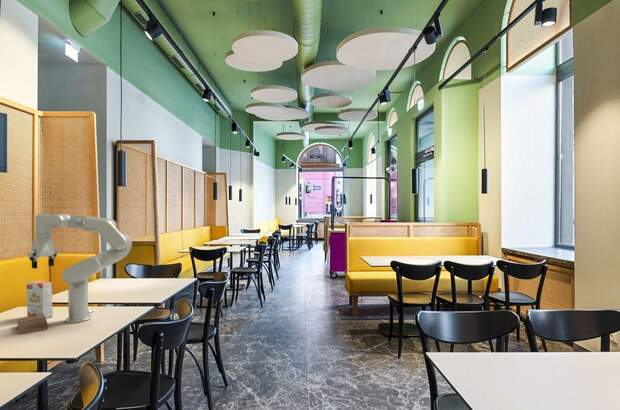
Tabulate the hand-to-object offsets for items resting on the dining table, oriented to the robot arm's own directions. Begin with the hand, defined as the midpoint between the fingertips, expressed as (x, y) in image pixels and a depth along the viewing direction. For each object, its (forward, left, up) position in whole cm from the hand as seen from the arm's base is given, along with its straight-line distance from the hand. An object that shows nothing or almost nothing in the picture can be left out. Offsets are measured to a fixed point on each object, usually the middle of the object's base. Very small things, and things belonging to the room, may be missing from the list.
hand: (43, 267), depth 216 cm
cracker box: (-8, -11, -31) cm, 34 cm away
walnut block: (+9, +3, -31) cm, 32 cm away
